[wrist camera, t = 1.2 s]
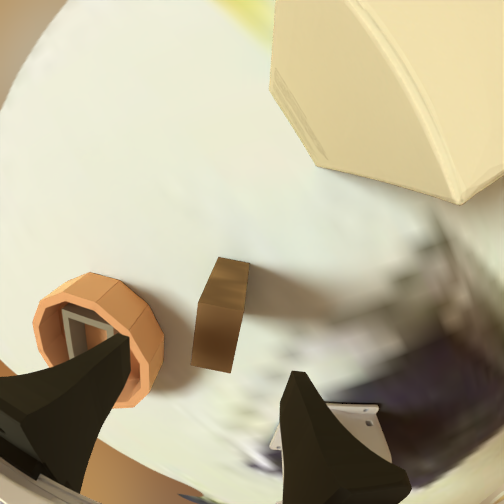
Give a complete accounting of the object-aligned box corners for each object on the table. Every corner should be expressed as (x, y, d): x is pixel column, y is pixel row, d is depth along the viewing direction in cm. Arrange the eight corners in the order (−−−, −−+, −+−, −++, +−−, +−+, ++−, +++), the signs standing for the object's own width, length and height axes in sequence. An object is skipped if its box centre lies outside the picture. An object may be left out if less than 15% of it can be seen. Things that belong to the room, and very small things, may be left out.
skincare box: (363, 46, 16) (493, -76, 1) (410, 125, 17) (600, 105, 2) (262, 91, 17) (261, -89, 2) (313, 176, 19) (474, 222, 4)
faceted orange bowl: (167, 291, 21) (149, 317, 17) (162, 392, 24) (150, 422, 21) (53, 261, 21) (25, 278, 17) (66, 359, 24) (47, 382, 20)
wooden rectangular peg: (249, 263, 20) (243, 311, 14) (239, 312, 22) (230, 373, 15) (218, 257, 20) (198, 302, 14) (210, 307, 22) (190, 365, 15)
